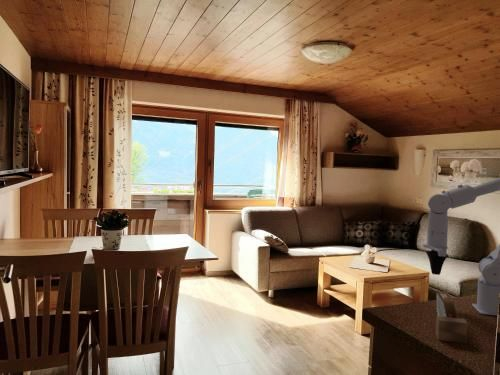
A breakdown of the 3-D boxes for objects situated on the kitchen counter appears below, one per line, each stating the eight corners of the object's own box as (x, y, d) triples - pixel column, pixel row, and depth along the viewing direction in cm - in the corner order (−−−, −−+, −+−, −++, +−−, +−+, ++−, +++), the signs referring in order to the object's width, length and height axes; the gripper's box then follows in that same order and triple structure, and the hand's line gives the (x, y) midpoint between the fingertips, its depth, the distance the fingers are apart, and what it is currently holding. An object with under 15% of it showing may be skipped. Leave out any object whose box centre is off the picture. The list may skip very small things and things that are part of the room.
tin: (457, 337, 95) (459, 304, 95) (444, 335, 96) (445, 303, 96) (445, 315, 110) (446, 287, 109) (433, 314, 111) (434, 286, 110)
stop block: (462, 337, 95) (463, 318, 95) (466, 343, 92) (467, 323, 92) (435, 334, 97) (436, 315, 96) (438, 340, 94) (439, 320, 93)
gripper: (419, 227, 127) (417, 267, 128) (429, 234, 113) (427, 279, 114) (441, 229, 126) (440, 269, 126) (454, 236, 112) (452, 281, 112)
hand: (435, 274), depth 120 cm, fingers closed
